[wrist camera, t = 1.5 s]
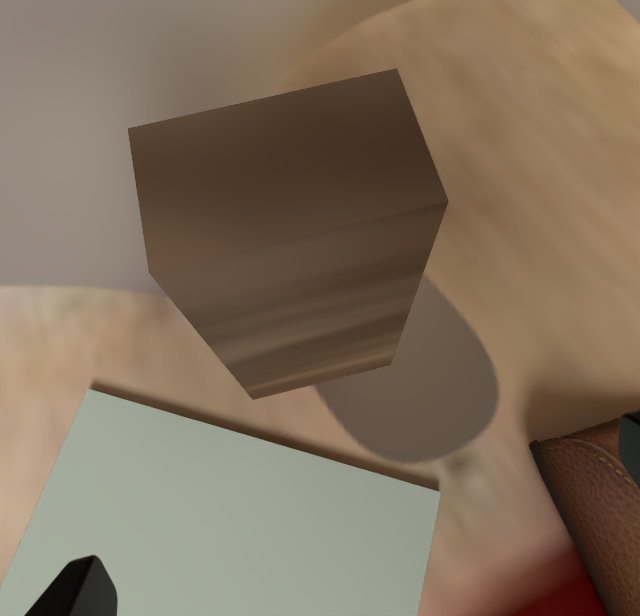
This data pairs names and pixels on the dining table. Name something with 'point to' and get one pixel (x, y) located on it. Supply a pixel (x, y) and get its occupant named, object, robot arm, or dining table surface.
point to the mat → (220, 523)
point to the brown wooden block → (292, 227)
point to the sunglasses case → (597, 509)
